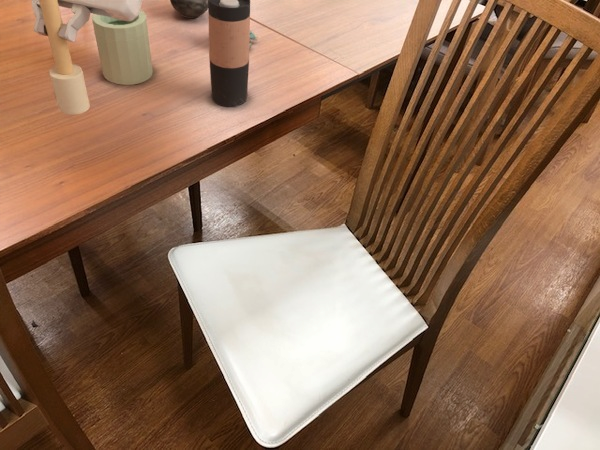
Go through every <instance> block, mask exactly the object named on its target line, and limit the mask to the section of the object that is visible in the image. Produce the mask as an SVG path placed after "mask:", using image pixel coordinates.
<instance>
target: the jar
mask: <svg viewBox="0 0 600 450" xmlns="http://www.w3.org/2000/svg"><path fill="white" fill-rule="evenodd" d="M91 22H92V27H93V31H94V37H95V42H96V47H97V51H98V52H97V53H98V56H99V61H100V66H101V72H102V75H103V77H104V79H105V80H107V81H108V82H110V83H113V84H116V85H123V86H130V85H131V86H132V85H137V84H141V83H144V82H147V81H148V80H149V79H150V78H151V77H152V75H153V73H154V71H153V62H152V54H151V46H150V38H149V37H150V36H149V29H148V20H147V14H146V13H145V12H144V11H143V10H142V9H140V12H139V15H138V16H137V17H136V18H135V19H134V20H132V21H125V20H120V19H116V18H111V17H107V16H102V15H98V14H93V13H92V14H91Z"/></svg>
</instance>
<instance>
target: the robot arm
mask: <svg viewBox="0 0 600 450" xmlns="http://www.w3.org/2000/svg"><path fill="white" fill-rule="evenodd" d="M30 1H31V2H30V4H31V7H32V10H33V14H34V18H35V20H34V25H33V31H34V33H36V34H38V35H40V36H45V37H48V34H47V30H46V26H45V22H44V18H43V15H42V11H41V7H40V3H39V0H30ZM57 1H58V5H59V7H62V8H67V9H71V13H73V15H72V16H71V17H70V19H69V20H68V21H67V22H66V23H63V24H62V23H61V25H60V30H59V32H58V35H59V37H60V38H62V39H63V40H66V41H67V42H70V43H75V42H76V39H77V35H78V31H80V30H81V29H82V28H83V27H84V26H85V25H86V24H87V23H88V22H89V20H90V16H91V14H92V15H93V14H98V15H102V16H107V17H111V18H116V19H120V20H125V21H132V20H134V19H135V18H136V17H137V16H138V15H139V12H140V10H141V7H142V3H143V0H57Z"/></svg>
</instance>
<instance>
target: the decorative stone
mask: <svg viewBox="0 0 600 450" xmlns="http://www.w3.org/2000/svg"><path fill="white" fill-rule="evenodd" d="M169 2H170V5H171V6H172V7H173V9H174V10H175V12H176V13H177V14H178V15H180V16H182V17H185V18H187V19H196V18H199V17H202V16H203V15H204V14H205V13H206V12H208V0H169Z"/></svg>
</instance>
